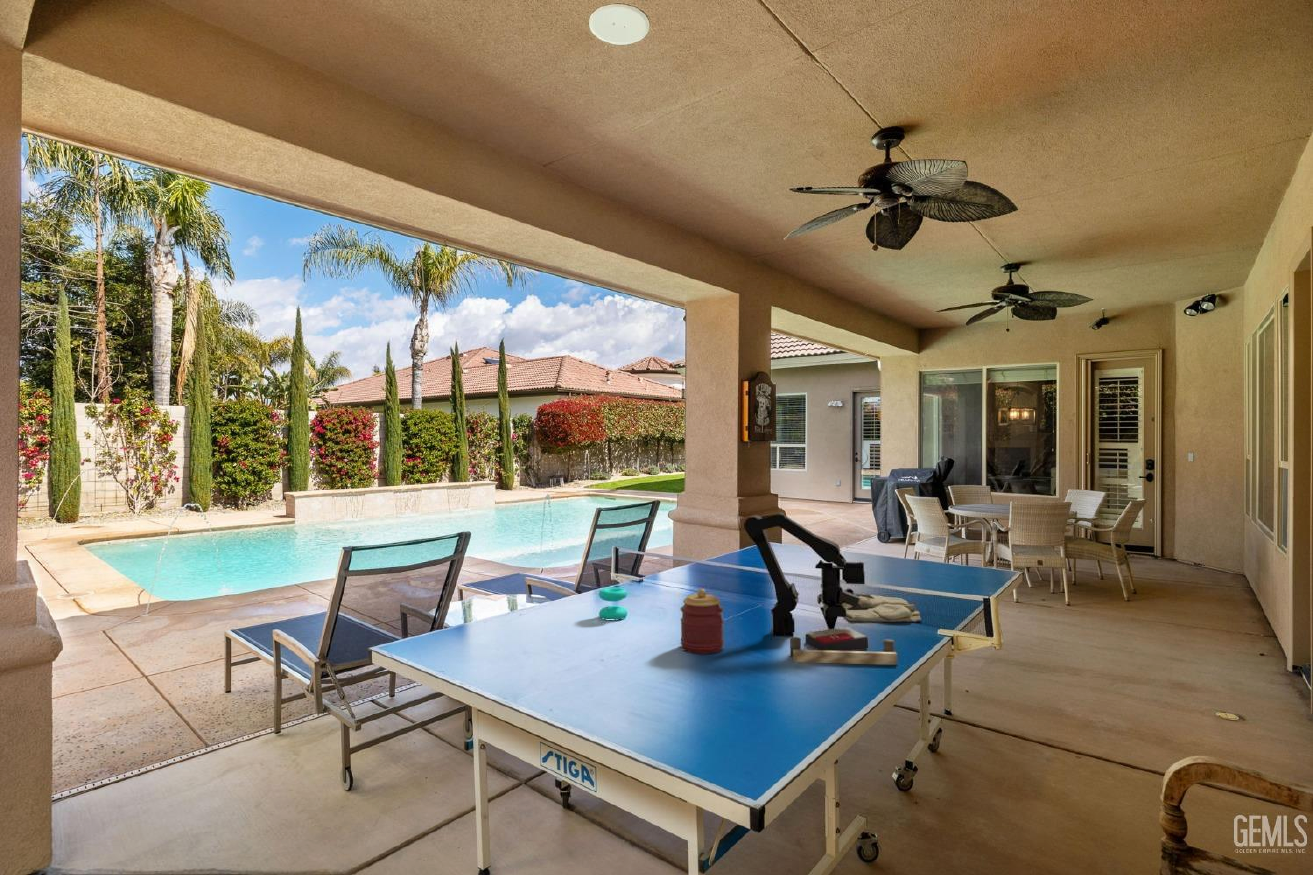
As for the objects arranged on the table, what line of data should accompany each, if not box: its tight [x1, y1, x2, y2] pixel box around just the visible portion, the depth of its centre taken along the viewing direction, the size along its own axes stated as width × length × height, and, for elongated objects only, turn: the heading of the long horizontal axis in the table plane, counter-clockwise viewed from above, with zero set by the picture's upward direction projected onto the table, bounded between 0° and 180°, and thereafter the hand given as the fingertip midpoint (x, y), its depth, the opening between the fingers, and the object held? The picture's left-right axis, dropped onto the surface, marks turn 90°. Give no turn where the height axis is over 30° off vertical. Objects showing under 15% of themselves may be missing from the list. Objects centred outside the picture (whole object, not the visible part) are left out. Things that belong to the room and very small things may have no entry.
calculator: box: [805, 627, 869, 651], centre depth 198 cm, size 11×4×15 cm
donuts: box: [598, 586, 628, 620], centre depth 233 cm, size 10×10×10 cm
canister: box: [679, 588, 725, 655], centre depth 197 cm, size 13×13×18 cm
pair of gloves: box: [841, 593, 922, 623], centre depth 236 cm, size 30×26×5 cm
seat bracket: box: [789, 636, 898, 666], centre depth 185 cm, size 29×7×5 cm, turn 83°
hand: (831, 632), depth 206 cm, fingers closed
